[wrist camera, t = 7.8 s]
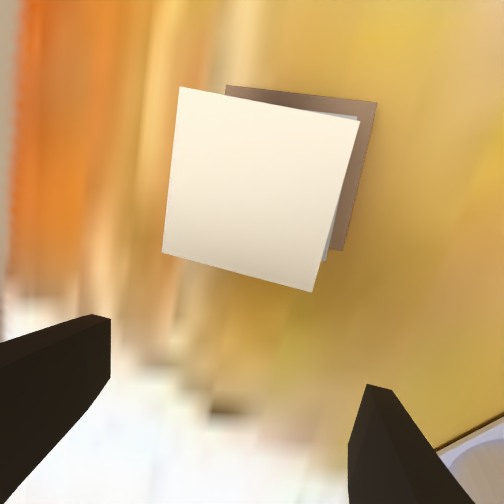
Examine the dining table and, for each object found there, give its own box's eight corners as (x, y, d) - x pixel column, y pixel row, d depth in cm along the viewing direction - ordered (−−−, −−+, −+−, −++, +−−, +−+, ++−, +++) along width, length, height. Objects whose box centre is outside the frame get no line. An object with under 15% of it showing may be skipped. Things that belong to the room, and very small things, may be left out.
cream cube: (347, 130, 12) (360, 121, 8) (315, 247, 13) (311, 292, 9) (228, 107, 13) (179, 86, 8) (210, 221, 14) (161, 252, 10)
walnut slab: (369, 109, 16) (377, 102, 14) (340, 238, 18) (342, 251, 16) (239, 93, 17) (225, 84, 15) (225, 217, 19) (212, 226, 17)
